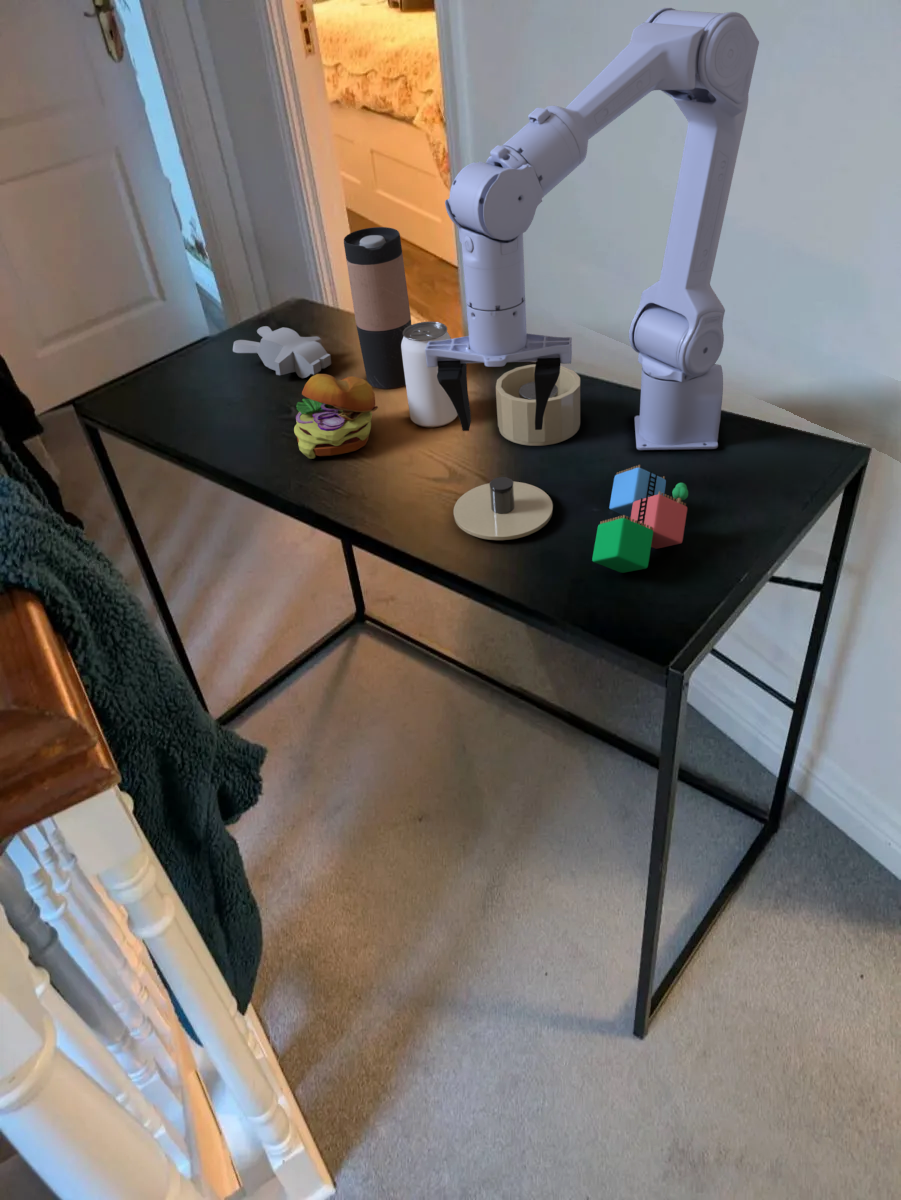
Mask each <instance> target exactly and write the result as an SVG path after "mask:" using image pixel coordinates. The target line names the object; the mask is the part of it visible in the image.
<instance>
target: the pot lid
mask: <svg viewBox="0 0 901 1200" xmlns="http://www.w3.org/2000/svg"><path fill="white" fill-rule="evenodd" d="M553 513H554V503H553V500H552V498H551V497H550V496H549V494H547V492H545V490H543V489H541V488H539V487H538V486H535V485H533V484H529V483H526V482H521V481H520V482H519V481H514V480H513V479H511V478H510V477H507V476H499V477H495V478H493V479H492V480H491V481H490V482H489V483H488V482H487V483H484V484H481V485H478V486H476V487H473V488H471V489H469V490H468V491H466V492H464V494H462V495H461V496H460V497H459V498H458V499H457V501H455V504H454V507H453V519H454V522H455V523H456V525H457V527H458V528H459V529H460V530H462V531H463V532H465V533H466V534H468V535H470V536H473V537H476V538H479V539H483V540H489V541H509V540H517V539H520V538H524V537H527V536H530V535H532V534H534V533H536V532H539V531H540V530H541V529H542V528H544V527H545V526H546V525H547V524H548V523H549V521H550V520H551V519H552V516H553Z"/></svg>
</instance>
